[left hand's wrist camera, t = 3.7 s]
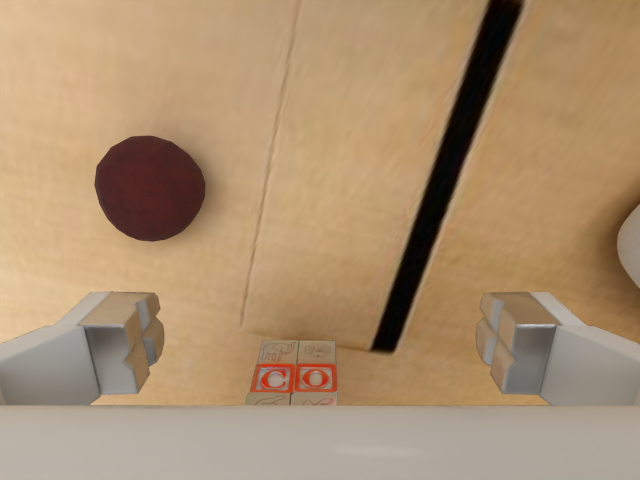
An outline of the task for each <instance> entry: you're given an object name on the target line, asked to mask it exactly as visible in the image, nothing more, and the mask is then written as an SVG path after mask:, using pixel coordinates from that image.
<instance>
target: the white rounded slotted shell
mask: <svg viewBox="0 0 640 480" xmlns="http://www.w3.org/2000/svg"><path fill="white" fill-rule="evenodd" d="M617 250H618V255H619V259H620V261H621V264H622V265H623V267H624V269H625V270H626V272H627V273H628V275H629V276H630V278H631V279H632V280H633V281H634V283H635V284H636V285H637V286H638V287H639V288H640V204H639V205H638V206H637V207H636V208H635V209H634V210H633V211H632V213H631V214H630V215H629V216H628V218H627V219H626V220H625V222H624V223H623V225H622V227H621V229H620V231H619V234H618V238H617Z"/></svg>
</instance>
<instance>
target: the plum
mask: <svg viewBox="0 0 640 480" xmlns="http://www.w3.org/2000/svg"><path fill="white" fill-rule="evenodd" d="M95 189H96V192H97V196H98V200H99V203H100V206H101V208H102V210H103V211H104V213H105V215H106V217H107V219H108V220H109V221H110V222H111V223H112V224H113V225H114V226H115V227H116V228H117V229H118V230H119V231H121V232H123V233H124V234H126V235H127V236H129V237H132V238H135V239H137V240H142V241H159V240H165V239H168V238H170V237H173V236H175V235H177V234H179V233H181V232H182V231H183V230H184V229H185V228H186V227H187V226H188V225H189V224H190V223H191V222H192V221H193V219H194V218H195V216H196V215H197V213H198V212H199V210H200V208H201V205H202V203H203V200H204V197H205V181H204V178H203V175H202V172H201V170H200V168H199V167H198V166H197V164H196V163H195V162H194V161H193V159H192V158H191V157H190V155H189V154H187V153H186V152H185V151H183V150H182V149H181V148H179V147H178V146H177V145H175V144H174V143H172V142H170V141H167V140H164V139H161V138H157V137H154V136H134V137H130V138H128V139H126V140H124V141H122V142H120V143H118V144H117V145H115V146H113V147H111V148H110V150H109V151H108V152H107V154H106V155H105V156H104V158H103V159H102V160H101V161H100V163H99V164H98V165H97V168H96V177H95Z"/></svg>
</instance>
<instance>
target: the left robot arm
mask: <svg viewBox="0 0 640 480" xmlns="http://www.w3.org/2000/svg"><path fill="white" fill-rule="evenodd" d="M159 310H160V304H159V299H158V296H157V295H156V294H155V293H144V292H113V291H112V292H90V293H89V294H88V295H87V296H86V297H85V298H84V299H83V300H82V301H80V302H79V303H78V304H77V305H76V306H75V307H74V308H73V309H71V310H70V311H69V312H68V313H67V314H66V315H65V316H64V317H62V318H61V319H60V320H59V321H58V322H57V323H56V324H55V325H53V326H44V327H42V328H39V329H37V330H34V331H32V332H29V333H27V334H24V335H22V336H19V337H16V338H14V339H11V340H9V341H6V342H4V343H1V344H0V480H640V344H639V343H636V342H634V341H631V340H629V339H626V338H623V337H621V336H618V335H616V334H613V333H611V332H608V331H606V330H603V329H601V328H598V327H596V326H587V325H585V324H584V323H583V322H582V321H581V320H580V319H579V318H578V317H577V316H575V315H574V314H573V313H572V312H571V311H570V310H569V309H568V308H566V307H565V306H564V305H563V304H562V303H561V302H560V301H559V300H557V299H556V298H555V297H554V296H553V295H552V294H551V293H549V292H545V291H543V292H499V293H485V294H484V295H483V297H482V299H481V303H480V310H481V312H482V313H483V315H484V318H483V319H482V320H481V321H480V322H479V323H478V324H477V329H476V346H477V350H478V353H479V356H480V357H481V359H482V361H483V362H484V363H486V364H487V365H489V366H491V372H490V375H491V376H492V378H493V380H494V381H495V383H496V385H497V386H498V388H499V390H500V391H501V393H502V394H529V395H540V397H541V398H542V399H544V400H545V401H546V402H548V403H549V404H551V405H90V404H91V403H92V402H94V401H95V400H96V399H98V398H99V397H100V395H111V394H138V393H139V391H140V390H141V388H142V386H143V385H144V383H145V381H146V380H147V378H148V376H149V375H150V372H149V366H151V365H153V364H154V363H156V362H157V361H158V359H159V357H160V355H161V354H162V349H163V345H164V328H163V324H162V323H161V322H160V321H159V320H158V319H157V318H156V315H157V313H158V312H159Z"/></svg>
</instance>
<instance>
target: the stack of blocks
mask: <svg viewBox="0 0 640 480" xmlns="http://www.w3.org/2000/svg"><path fill="white" fill-rule="evenodd" d="M337 393H338V390H337V366H336V348H335V341H298V340H265V341H263V342H262V345H261V349H260V353H259V358H258V363H257V365H256V368H255V371H254V376H253V380H252V384H251V389H250V393H249V394H248V395H247V398H246V402H245V405H337Z"/></svg>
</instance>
